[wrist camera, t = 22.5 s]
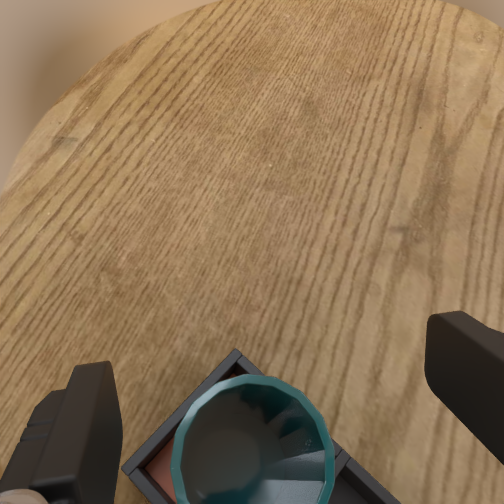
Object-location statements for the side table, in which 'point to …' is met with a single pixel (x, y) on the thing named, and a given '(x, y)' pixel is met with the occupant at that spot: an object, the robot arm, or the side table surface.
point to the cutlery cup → (252, 446)
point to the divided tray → (161, 441)
